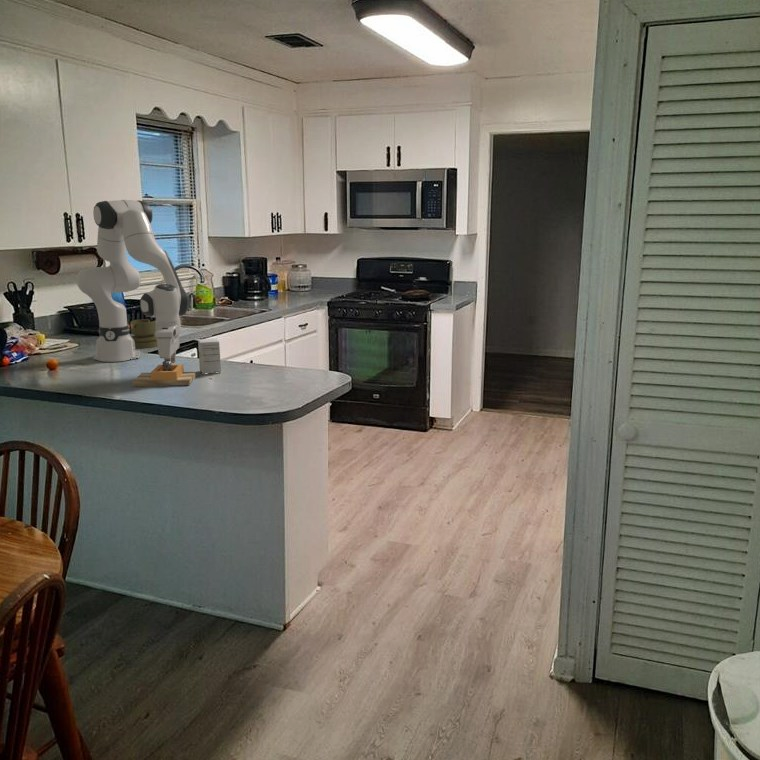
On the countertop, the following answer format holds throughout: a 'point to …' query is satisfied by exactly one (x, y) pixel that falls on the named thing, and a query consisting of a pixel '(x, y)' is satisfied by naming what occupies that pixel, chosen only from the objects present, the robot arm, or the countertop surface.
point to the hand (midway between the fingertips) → (170, 365)
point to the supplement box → (209, 355)
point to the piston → (144, 333)
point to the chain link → (167, 372)
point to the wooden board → (145, 380)
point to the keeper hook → (167, 366)
